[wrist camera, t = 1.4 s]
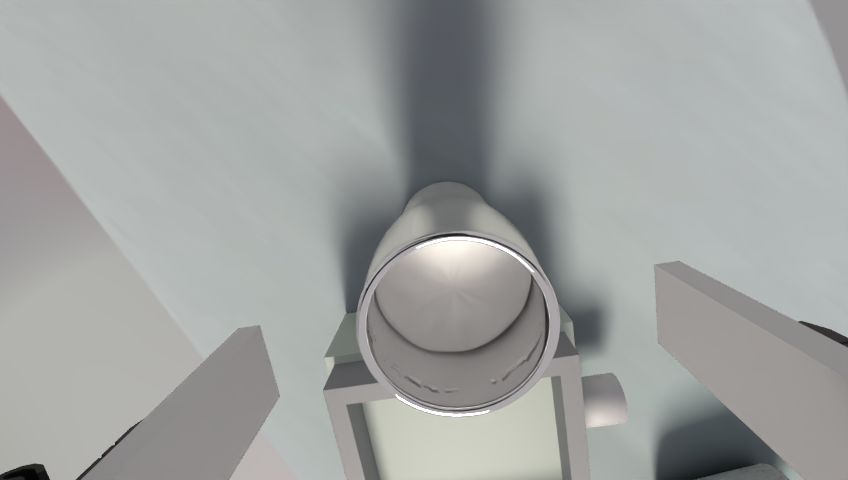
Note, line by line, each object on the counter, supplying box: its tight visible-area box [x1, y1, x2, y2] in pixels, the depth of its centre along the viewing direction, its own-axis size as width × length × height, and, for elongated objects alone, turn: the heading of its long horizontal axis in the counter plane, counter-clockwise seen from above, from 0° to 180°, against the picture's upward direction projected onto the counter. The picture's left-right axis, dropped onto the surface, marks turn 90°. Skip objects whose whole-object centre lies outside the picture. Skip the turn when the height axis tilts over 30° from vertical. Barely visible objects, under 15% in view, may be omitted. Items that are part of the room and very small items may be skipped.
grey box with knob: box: [323, 301, 628, 480], centre depth 27 cm, size 14×17×8 cm
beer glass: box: [356, 182, 560, 417], centre depth 21 cm, size 7×7×15 cm
